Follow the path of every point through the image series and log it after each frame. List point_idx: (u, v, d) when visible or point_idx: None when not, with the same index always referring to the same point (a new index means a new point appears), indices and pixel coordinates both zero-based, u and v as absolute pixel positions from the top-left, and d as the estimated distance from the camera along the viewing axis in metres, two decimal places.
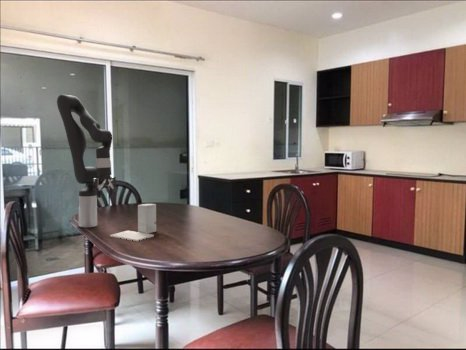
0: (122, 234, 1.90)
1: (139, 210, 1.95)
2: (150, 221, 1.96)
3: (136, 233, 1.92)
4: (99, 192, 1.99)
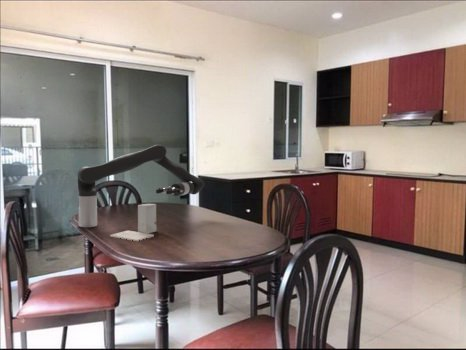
0: (122, 234, 1.90)
1: (139, 210, 1.95)
2: (150, 221, 1.96)
3: (136, 233, 1.92)
4: (170, 193, 2.08)
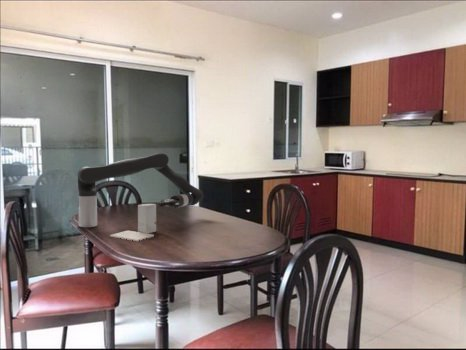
0: (122, 234, 1.90)
1: (139, 210, 1.95)
2: (150, 221, 1.96)
3: (136, 233, 1.92)
4: (164, 205, 2.08)
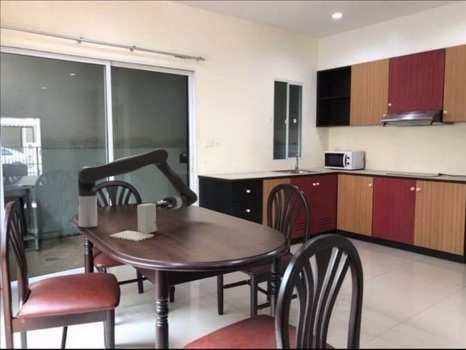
0: (122, 234, 1.90)
1: (139, 210, 1.95)
2: (150, 221, 1.96)
3: (136, 233, 1.92)
4: (156, 207, 2.03)
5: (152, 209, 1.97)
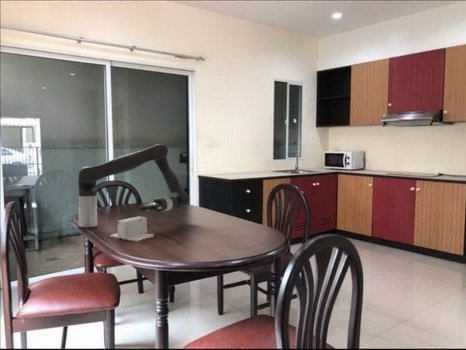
0: None
1: None
2: (138, 228, 1.89)
3: None
4: (145, 210, 1.96)
5: (129, 226, 1.84)
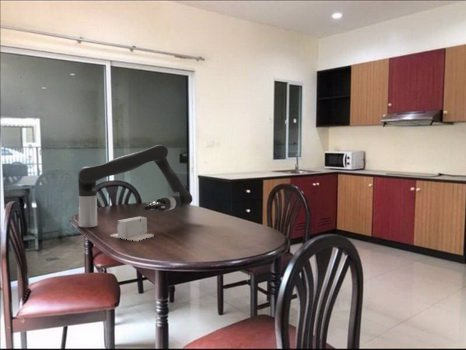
0: None
1: None
2: (138, 228, 1.89)
3: None
4: (149, 209, 1.98)
5: (129, 226, 1.84)
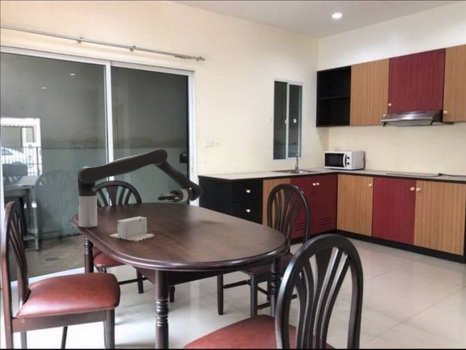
0: None
1: None
2: (138, 228, 1.89)
3: None
4: (163, 199, 2.08)
5: (129, 226, 1.84)
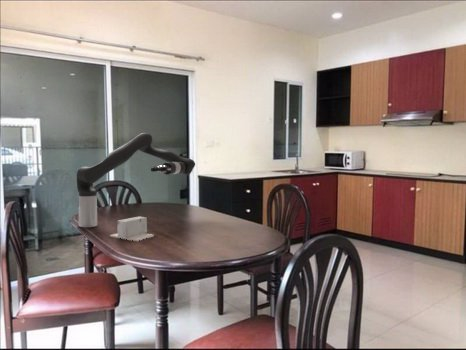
0: None
1: None
2: (138, 228, 1.89)
3: None
4: (156, 171, 2.13)
5: (129, 226, 1.84)
